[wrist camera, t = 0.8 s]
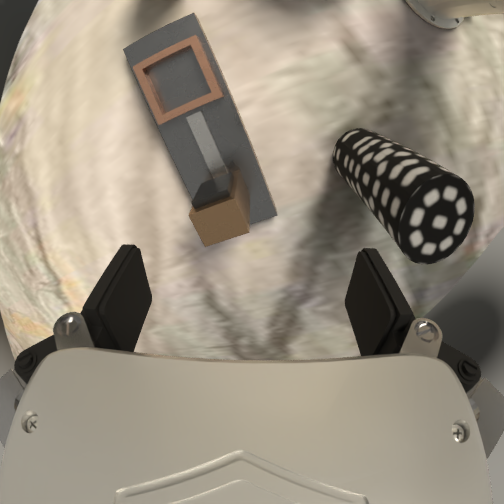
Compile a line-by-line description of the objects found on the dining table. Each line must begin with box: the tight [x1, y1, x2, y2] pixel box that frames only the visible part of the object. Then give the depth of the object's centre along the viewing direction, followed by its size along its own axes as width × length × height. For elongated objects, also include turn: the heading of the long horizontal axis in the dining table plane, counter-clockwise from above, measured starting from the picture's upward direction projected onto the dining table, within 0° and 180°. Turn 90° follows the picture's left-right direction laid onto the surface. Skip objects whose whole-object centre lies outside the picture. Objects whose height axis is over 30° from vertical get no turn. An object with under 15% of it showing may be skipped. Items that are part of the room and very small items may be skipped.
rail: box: [123, 13, 277, 247], centre depth 28 cm, size 10×30×12 cm, turn 20°
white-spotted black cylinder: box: [333, 128, 474, 264], centre depth 27 cm, size 8×8×20 cm
